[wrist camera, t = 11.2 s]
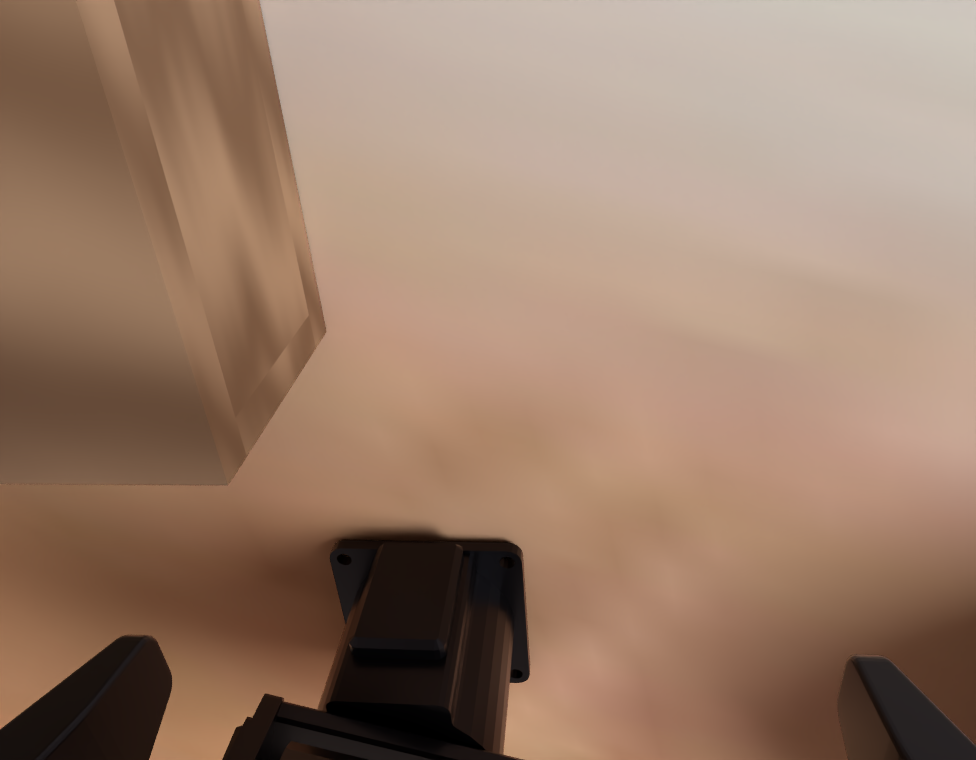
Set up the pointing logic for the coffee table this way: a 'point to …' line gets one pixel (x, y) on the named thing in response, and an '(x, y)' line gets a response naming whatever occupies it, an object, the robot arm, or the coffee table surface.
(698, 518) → the coffee table surface
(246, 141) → the brown legged block
